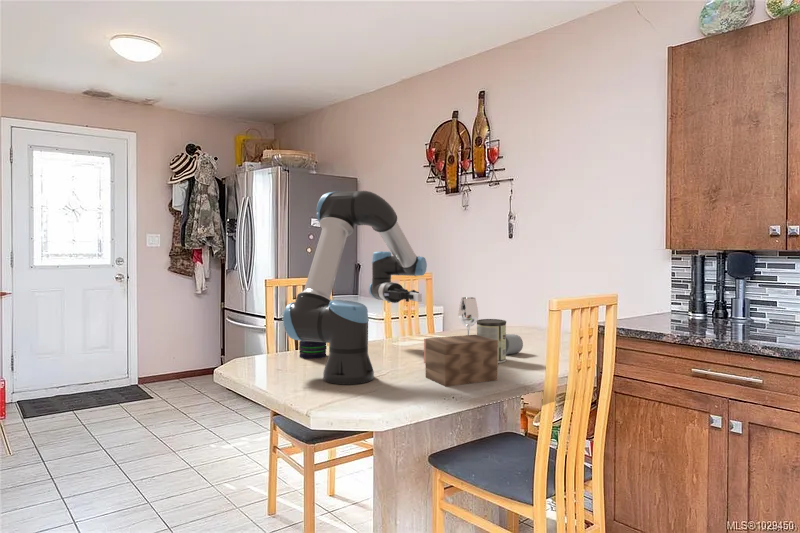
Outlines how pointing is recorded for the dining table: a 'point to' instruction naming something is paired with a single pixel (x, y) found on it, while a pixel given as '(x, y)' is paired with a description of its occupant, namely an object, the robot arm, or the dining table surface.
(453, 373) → the block
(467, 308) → the wineglass
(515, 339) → the ceramic mug
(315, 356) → the storage jar
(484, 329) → the coffee can
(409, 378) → the dining table surface
